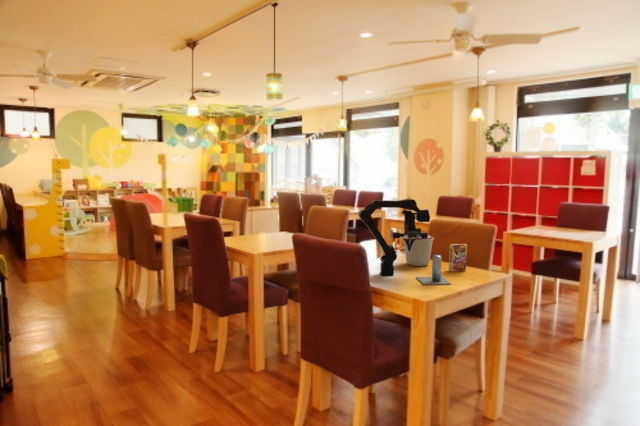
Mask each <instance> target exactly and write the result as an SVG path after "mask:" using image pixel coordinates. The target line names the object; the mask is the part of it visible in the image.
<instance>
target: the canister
mask: <svg viewBox="0 0 640 426" xmlns="http://www.w3.org/2000/svg"><path fill="white" fill-rule="evenodd" d="M408 239H409V237H408ZM434 239H435V237H433V236H432V235H430V234H428V238H421V237H417V240H415V241H414V242H413V244H412V247H411V250H410V251H408V249H407V246H406V243H405V241H404V240H403V241H404V242H403V243H404V254H405V256H404V257H405V261H406V263H407V264H408V265H409V266H414V267H425V266H428V265H429V264H430V261H431V255H432V247H433V242H434V241H433V240H434Z"/></svg>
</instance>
